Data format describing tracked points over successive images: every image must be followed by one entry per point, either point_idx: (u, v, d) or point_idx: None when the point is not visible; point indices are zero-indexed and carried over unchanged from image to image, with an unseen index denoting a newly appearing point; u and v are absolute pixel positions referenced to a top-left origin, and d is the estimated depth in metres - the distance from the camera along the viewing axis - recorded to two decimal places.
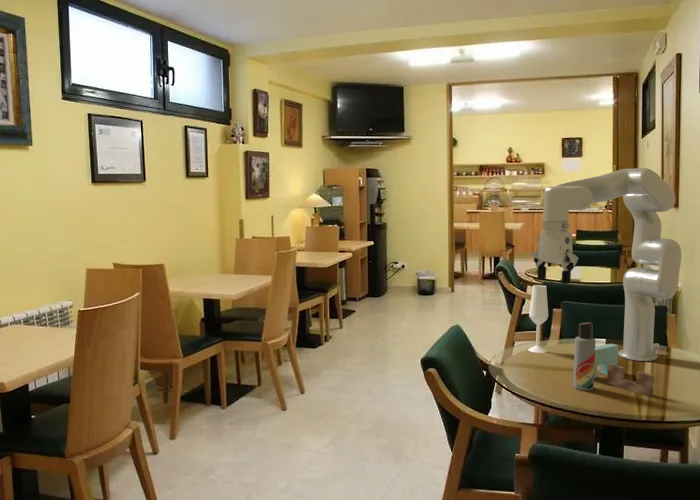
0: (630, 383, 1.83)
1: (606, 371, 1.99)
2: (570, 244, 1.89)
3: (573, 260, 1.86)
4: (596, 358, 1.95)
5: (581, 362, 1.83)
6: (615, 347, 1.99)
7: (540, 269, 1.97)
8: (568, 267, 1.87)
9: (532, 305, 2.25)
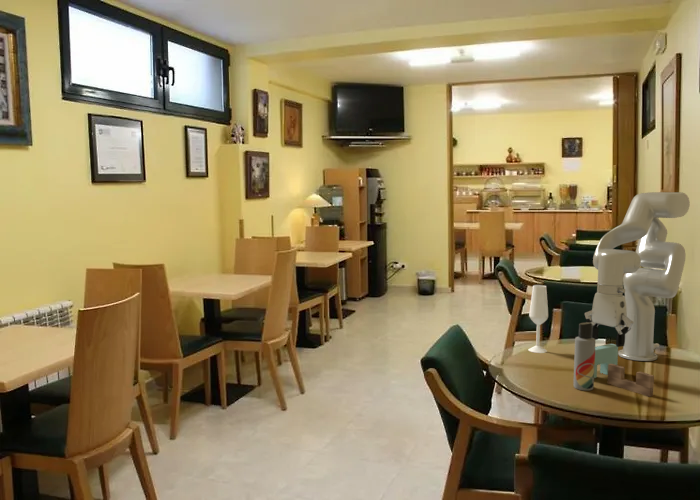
0: (630, 383, 1.83)
1: (606, 371, 1.99)
2: (625, 308, 1.94)
3: (628, 324, 1.91)
4: (596, 358, 1.95)
5: (581, 362, 1.83)
6: (615, 347, 1.99)
7: (593, 330, 2.02)
8: (623, 331, 1.92)
9: (532, 305, 2.25)
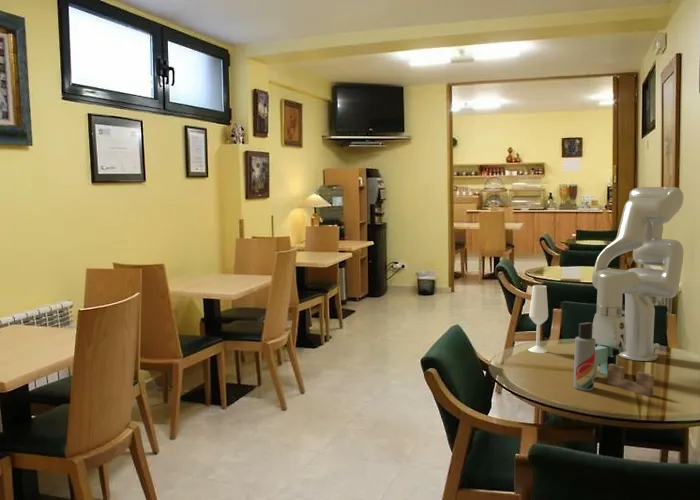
0: (630, 383, 1.83)
1: (606, 371, 1.99)
2: (624, 329, 1.95)
3: (620, 350, 1.95)
4: (596, 358, 1.95)
5: (581, 362, 1.83)
6: None
7: None
8: (614, 355, 1.96)
9: (532, 305, 2.25)
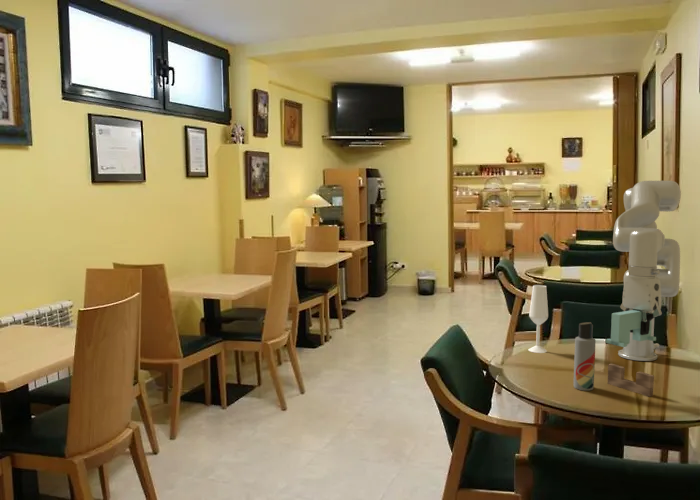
0: (630, 383, 1.83)
1: (639, 337, 1.83)
2: (659, 291, 1.79)
3: (655, 314, 1.79)
4: (629, 322, 1.79)
5: (581, 362, 1.83)
6: None
7: None
8: (648, 320, 1.81)
9: (532, 305, 2.25)
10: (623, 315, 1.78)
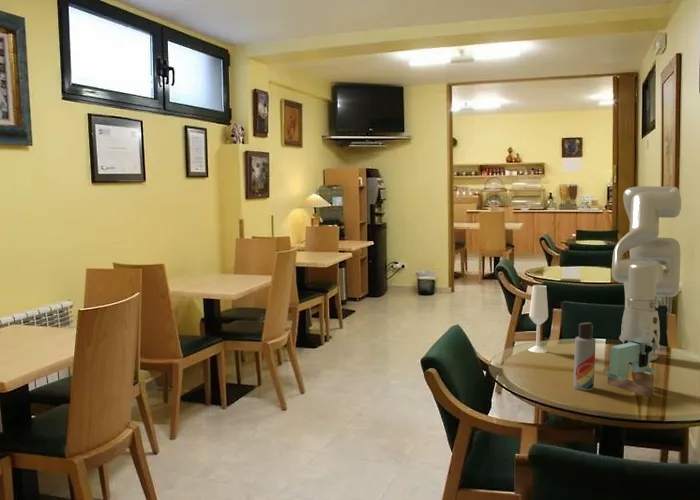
0: (630, 383, 1.83)
1: (638, 369, 1.84)
2: (658, 324, 1.80)
3: (654, 347, 1.80)
4: (628, 355, 1.80)
5: (581, 362, 1.83)
6: None
7: None
8: (646, 353, 1.82)
9: (532, 305, 2.25)
10: (622, 348, 1.79)
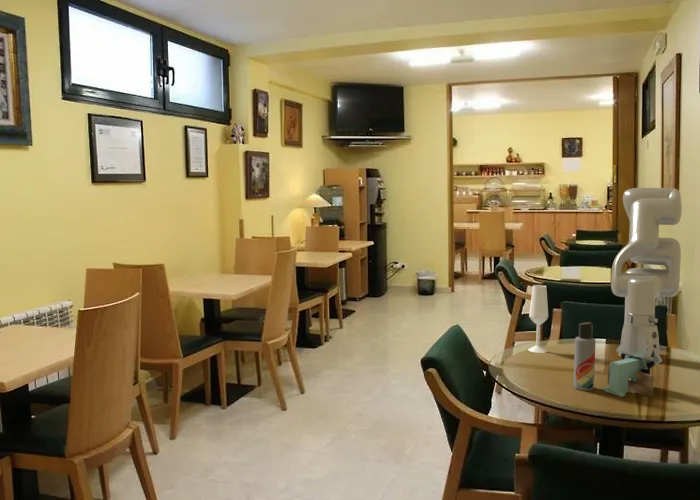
0: (630, 383, 1.83)
1: None
2: (657, 339, 1.81)
3: (656, 361, 1.79)
4: (627, 371, 1.81)
5: (581, 362, 1.83)
6: None
7: None
8: (649, 367, 1.81)
9: (532, 305, 2.25)
10: (621, 364, 1.79)
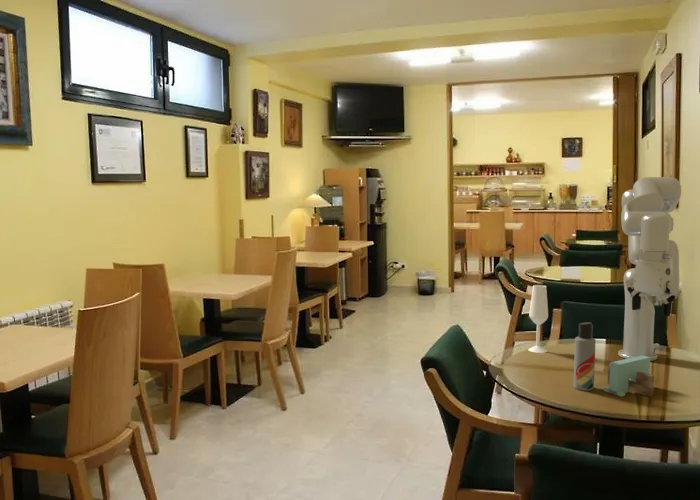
0: (630, 383, 1.83)
1: None
2: (670, 275, 1.80)
3: (675, 293, 1.77)
4: (627, 371, 1.81)
5: (581, 362, 1.83)
6: (647, 359, 1.85)
7: (635, 299, 1.88)
8: (669, 300, 1.79)
9: (532, 305, 2.25)
10: (621, 364, 1.79)
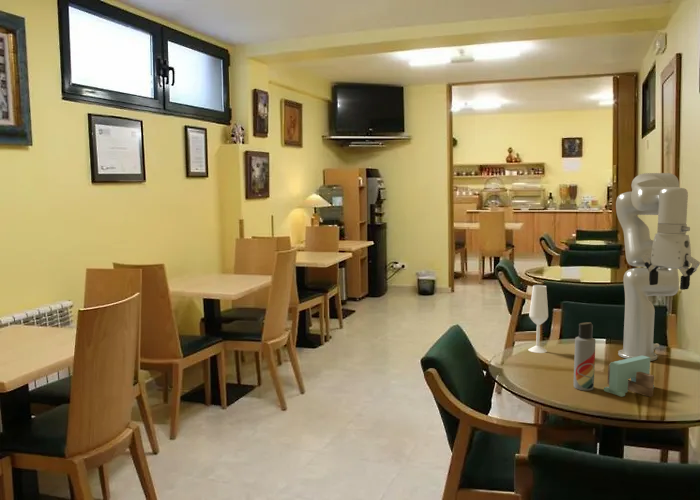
0: (630, 383, 1.83)
1: None
2: (689, 248, 1.80)
3: (694, 265, 1.77)
4: (627, 371, 1.81)
5: (581, 362, 1.83)
6: (647, 359, 1.85)
7: (653, 274, 1.87)
8: (688, 272, 1.78)
9: (532, 305, 2.25)
10: (621, 364, 1.79)
